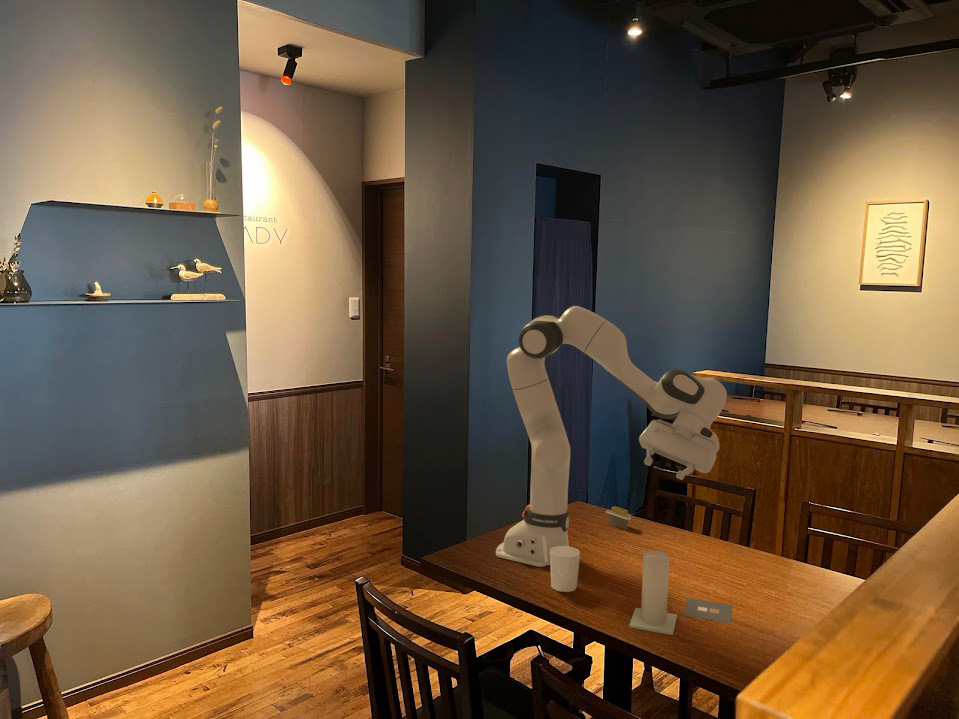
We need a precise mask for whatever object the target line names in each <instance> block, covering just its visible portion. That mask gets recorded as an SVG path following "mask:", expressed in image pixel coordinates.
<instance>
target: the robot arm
mask: <svg viewBox="0 0 959 719" xmlns="http://www.w3.org/2000/svg"><path fill="white" fill-rule="evenodd" d="M518 335H519V337H518V344H519V346H518V347H516V348H515V349H513V350H512V351H510V352H509V354H508V355H507V357H506V365H507V366H506V367H507V372H508V377H509V382H510V386H511V389H512V393H513V395H514V398H515V402H516V404H517V407H518V410H519V413H520V417H521V419H522V422H523V424H524V427H525V429H526V432H527V436H528V439H529V442H530V445H531V461H530V462H531V469H530V490H529V491H530V492H529V493H530V494H529V495H530V497H529V498H530V501H529V504H528V505H526V507H525V509H523V512H522V518H523V519H522V520H521V521H520V522H518V523H516V524H514V525H513V526H512V527H510V529H508V530H507V532H506V534H505V535H504V540H503V542H502V543H500V544H499V545H498V546H497V547H496V549H495V555H496V557H497V558H501V559H504V560H509V561H512V562H517V563H522V564H526V565H530V566H534V567H538V568H543V567H547V566H550V549H551V548H553V547H556V546H569V547H570V544H569V535H568V530H569V526H570V525H569V524H570V516H569V510H568V501H569V500H568V499H569V498H568V496H569V495H568V493H569V478H570V465H571V464H570V463H571V445H570V442H569V439H568V438H569V437H568V436H567V431H566V429H565V426H564V423H563V419H562V416H561V413H560V410H559V407H558V404H557V401H556V397H555V395H554V390H553V388H552V385H551V382H550V379H549V375H548V373H547V369H546V365H545V361H546V358H547V357H549V356H550V355H552V354H554V353H555V352H557V351H558V350H559V348H561V346H563V345H564V344H565V345H566V344H567V345H570V346H573V347H575V348H576V349H578V350H579V351H581V352H582V353H584V354H585V355H587V356H588V357H589V358H591V359H592V360H594V361H595V362H597V363H598V364H599V365H600V366H602V368H603V369H604V370H605V371H606V372H608V373H609V374H610V375H611V376H612V377H613V378H614V379H615V380H617V381H618V382H619V383H620V384H621V385H622V386H624V387H626V388H627V389H628V390H629V391H630V392H632V394H634V395H636V396H637V397H638V398H639V399H640V400H641V401H642V402H643V403H644V405H646V408H648V410H649V411H650V413H651V414H653V415H654V416H656V417H657V418H659V419H654V420H651V421H650V423H649V424H648V426H647V427H646V428H645V429H644V430H643V431H642V433H641V434H640V435H639V437H638V442H639V444H640V446H641V448H642V449H645V450H646V456H645V459H644V460H643V463H644V465H646V466H649V467H650V466H651V465H652V464H653V462H654V460H653V458H652V457H651V456H654V454H657V455H660V456H661V457H664V458H667V459H669V460H671V461H674V462H676V463H677V464H678V463H679V464H681V465H683V466H686V468H684V469H683V470H681V469H679V470H678V471H677V472H676V474H675V476H676V479H678V480H681V481H683V480H684V478H685V477H686V476H688V475H691V473H693V472H694V471H698V472H699V473H702V474H708V473H710V472H711V470H712V469H713V467H714V465H715V462H716V460H717V453H718V451H719V450H720V441H719V438H718V435H717V434H716V433H715V432H714V431H713V430H711V426H712V424H713V422H715V421H716V420H717V419H718V417H719V415H720V414H721V412H722V410H723V409H724V406H725V404H726V402H727V397H728V393H727V390H726V388H725V387H724V385H723V384H722V383H721V382H720V380H719V381H718V380H717V379H715V378H713V377H701V376H696V375H693V374H692V373H691V374H690V373H689V372H687V371H685V370H684V369H680V368H674V369H669V370H667V371H666V372H665V373H664V374H663V375H662V376H661V377H660V379H659V381H655V380H653V379H652V378H651V377H650V376H648V375H647V374H646V373H645V372H643V371H642V370H641V369H639V368H638V367H637V366H636V365H635V364H633V362H632V361H631V358H630V357H629V352H628V345H627V344H628V342H627V337H626V336H625V334H624V333H623V331H621V329H620V328H618V327H617V326H616V325H615V324H613V323H612V322H610V321H609V320H607V319H606V318H604V317H602V316H600V315H599V314H597V313H595V312H593V311H591V310H589V309H586V308H584V307H581V306H579V305H573V306H570V307H569V308H567V309H566V310H565V311H564V312H563V313H562V315H561V316H560V317H559V316H557V315H555V314H551V313H550V314H544V315H541V316H538V317H535V318H533V319H532V320H531V321H530V322H528V323H527V324H525V325H524V326H523V328H522V329H521V331H520V332H519V334H518ZM674 418H675V419H674ZM671 419H674V421H673V422H672V423H671V422H669V421H665V420H671Z"/></svg>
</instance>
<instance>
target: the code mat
mask: <svg viewBox="0 0 959 719" xmlns="http://www.w3.org/2000/svg"><path fill="white" fill-rule="evenodd" d="M732 612H733V604H728V603H723V602H718V601H717V602H716V601H712V600H711V601H710V600H703V599H699V598H698V599H697V598H693V597H692V598H691V597H687V598H686V603H685V609H684V612H683V616H684V617H689V618H690V617H691V618H696V619H701V620H708V621H715V622H719V623H726V624H732V615H733V613H732Z"/></svg>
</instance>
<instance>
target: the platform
mask: <svg viewBox="0 0 959 719" xmlns="http://www.w3.org/2000/svg"><path fill="white" fill-rule="evenodd" d="M605 513H606V514H609V516H608V517H609V518H608V525H610V524H611V525H610V526H613V527H616V528H618V527H619V529H621V528H622V530H625V531H628V521H629V520H631V519H632V514H630V513H629V510H627V509H624V508H622V507H618V506H612V507H611V509H607V510H605Z"/></svg>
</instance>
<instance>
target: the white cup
mask: <svg viewBox="0 0 959 719" xmlns="http://www.w3.org/2000/svg"><path fill="white" fill-rule="evenodd" d="M580 553H581V551H580V550H579V549H577V548H576V547H574V546H570V545H569V546H556V547H553V548H551V549H550V565H549V568H550V583H551V584H550V585H551V589H553V590H554V591H557V592H560V593H561V592H562V593H569V592H570V593H571V592H574V591H576V589H577V588H578V578H579V571H580V570H579V568H580V567H579V566H580V555H581V554H580Z"/></svg>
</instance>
